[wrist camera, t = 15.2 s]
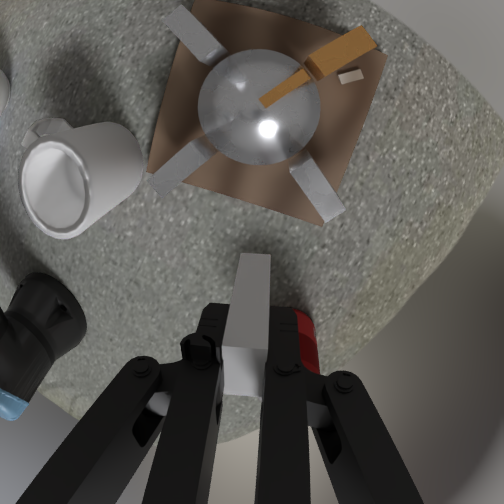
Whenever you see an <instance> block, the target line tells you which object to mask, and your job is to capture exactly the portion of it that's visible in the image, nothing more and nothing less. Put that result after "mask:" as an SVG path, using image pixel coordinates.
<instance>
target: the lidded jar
mask: <svg viewBox="0 0 504 504" xmlns="http://www.w3.org/2000/svg"><path fill="white" fill-rule="evenodd" d="M10 94H11V87H10V82H9V80H8V78H7V77H6V75H5V74H4V72H3V71H2V70H1V69H0V116H1V115H2V113H3V111H4V110H5V109H6V107H7V105H8V103H9V99H10Z"/></svg>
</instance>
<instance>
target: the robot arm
mask: <svg viewBox="0 0 504 504" xmlns="http://www.w3.org/2000/svg"><path fill="white" fill-rule="evenodd" d="M270 265H271V254H255V253H241V254H240V259H239V264H238V269H237V273H236V278H235V283H234V288H233V293H232V298H231V303H230V304H220V303H209V304H208V305H207V306H206V307H205V308H204V309H203V311H202V314H201V318H200V321H199V324H198V327H197V331H196V333H192V334H189V335H187V336H186V337H184V338H183V339H182V341H181V343H180V346H181V352H182V358H183V359H182V360H180V361H177V362H174V363H167V364H159V363H158V362H157V360H155V359H154V358H152V357H148V356H138V357H135V358H133V359H131V360H130V361H128V362H127V363H126V364H125V366H124V367H123V368H122V369H121V370H120V372H119V373H118V374H117V375H116V376H115V378H114V379H113V380H112V381H111V383H110V384H109V385H108V386H107V387H106V389H105V390H104V391H103V392H102V394H101V395H100V396H99V397H98V399H97V400H96V401H95V402H94V403H93V405H92V406H91V407H90V408H89V410H88V411H87V412H86V413H85V415H84V416H83V417H82V418H81V420H80V421H79V422H78V423H77V425H76V426H75V427H74V428H73V430H72V431H71V432H70V433H69V435H68V436H67V437H66V438H65V440H64V441H63V442H62V444H61V445H60V446H59V447H58V449H57V450H56V452H54V454H53V455H52V456H51V458H50V459H49V460H48V461H47V463H46V464H45V465H44V467H43V468H42V469H41V471H40V472H39V473H38V475H37V476H36V477H35V478H34V480H33V481H32V483H31V484H30V485H29V486H28V488H27V489H26V490H25V492H24V493H23V494H22V496H21V497H20V499H19V500H18V501H17V502H16V504H115V503H116V502H117V500H118V499H119V497H120V495H121V494H122V492H123V490H124V489H125V488H126V486H127V484H128V483H129V481H130V479H131V478H132V476H133V475H134V473H135V472H136V470H137V468H138V467H139V465H140V464H141V462H142V461H143V459H144V457H145V456H146V454H147V453H148V451H149V449H150V448H151V446H152V445H153V443H154V441H155V440H156V438H157V437H158V435H159V433H160V432H161V435H160V438H159V442H158V445H157V449H156V452H155V456H154V460H153V464H152V467H151V471H150V474H149V478H148V482H147V486H146V489H145V493H144V497H143V501H142V504H208V497H209V489H210V483H211V477H212V471H213V464H214V458H215V451H216V445H217V439H218V432H219V426H220V419H221V413H222V407H223V404H222V397H223V391H224V394H230V395H241V396H255V397H262V405H261V413H260V434H259V448H258V462H257V476H256V489H255V503H254V504H311V501H310V499H311V498H310V463H309V440H308V426H311V428H312V430H313V433H314V436H315V439H316V441H317V444H318V447H319V450H320V452H321V455H322V458H323V461H324V464H325V467H326V469H327V472H328V475H329V477H330V480H331V483H332V486H333V489H334V491H335V494H336V497H337V500H338V502H339V504H424V503H423V501H422V499H421V497H420V495H419V492H418V490H417V488H416V486H415V484H414V482H413V480H412V478H411V476H410V474H409V472H408V470H407V468H406V466H405V464H404V462H403V460H402V458H401V456H400V454H399V452H398V450H397V448H396V446H395V444H394V442H393V440H392V438H391V436H390V435H389V432H388V430H387V429H386V427H385V425H384V423H383V421H382V419H381V417H380V415H379V413H378V411H377V409H376V407H375V406H374V404H373V402H372V400H371V398H370V396H369V394H368V392H367V391H366V389H365V387H364V385H363V383H362V381H361V380H360V379H359V377H357V376H356V375H355V374H353V373H351V372H348V371H336V372H333V373H331V374H330V375H329V376H328V377H327V376H324V375H320V374H317V373H314V372H312V371H310V370H308V369H307V368H306V367H305V366H304V365H303V363H302V361H301V357H300V344H299V333H298V319H297V314H296V313H295V311H294V310H293V309H292V308H290V307H272V306H269V302H270ZM86 330H87V324H86V319H85V316H84V313H83V311H82V309H81V307H80V305H79V304H78V302H77V301H76V299H75V298H74V297H73V295H72V294H71V293H70V292H69V291H68V290H67V289H66V288H65V287H64V286H63V285H62V284H61V283H59V282H58V281H57V280H55V279H54V278H52V277H50V276H48V275H46V274H43V273H31V274H29V275H28V276H27V277H25V278H24V279H23V280H22V281H21V282H20V284H19V285H18V287H17V290H16V291H15V294H14V296H13V298H12V300H11V302H10V305H9V307H8V309H7V311H6V312H5V313H4V312H3V310H2V309H1V307H0V417H2V418H4V419H6V420H10V421H12V420H13V421H14V420H16V419H17V418H19V416H20V415H21V414H22V412H23V411H24V409H25V408H26V407H27V406H28V405H29V402H30V400H31V398H32V397H33V395H34V393H35V392H36V390H37V388H38V387H39V385H40V384H41V382H42V380H43V379H44V377H45V376H46V374H47V373H48V371H49V370H50V368H51V366H52V365H53V363H54V362H55V361H56V360H57V359H58V358H60V357H61V356H63V355H64V354H66V353H67V352H69V351H70V350H71V349H73V348H75V347H76V346H77V345H78V344H79V343H80V342H81V340H82V339H83V337H84V336H85V334H86ZM161 430H162V431H161Z"/></svg>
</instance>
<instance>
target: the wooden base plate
mask: <svg viewBox="0 0 504 504" xmlns="http://www.w3.org/2000/svg"><path fill="white" fill-rule="evenodd" d="M190 12H191V13H192V14H193V15H194V16H195V17H196V18H197V19H198V20H199V21H200V22H201V23H202V24H203V25H204V26H205V27H206V28H207V29H208V30H209V31H210V32H211V33H212V34H213V35H214V36H215V37H216V39H217V40H218V41H219V42H220V43H221V44H222V45H223V46H224V47H225V48H226V49H227V51H228V52H229V53H230V54H231V55H233V54H236V53H239V52H242V51H246V50H253V49H265V50H272V51H276V52H279V53H282V54H284V55H287V56H289V57H291V58H292V59H294V60H295V61H297V62H298V63H299V64H300V65H301V66H303V67H304V68H305V70H306V71H307V72H308V73H309V74H310V76H311V77H312V79H313V81H314V83H315V85H316V87H317V90H318V93H319V98H320V118H319V122H318V125H317V128H316V130H315V132H314V134H313V136H312V138H311V139H310V141H309V142H308V143H307V144H306V145H305V146H304V147H303V148H302V149H301V150H300V151H299V152H298V153H296V154H295V155H293V156H292V157H290V158H288V159H286V160H284V161H281V162H278V163H274V164H269V165H250V164H245V163H241V162H238V161H235V160H233V159H231V158H229V157H227V156H226V155H224V154H222V153H221V152H220V151H218V152H217V153H216V154H215V155H213V156H212V157H211V158H210V159H209V160H207V161H206V162H205V163H204V164H202V165H201V166H200V167H199V168H198V169H196V170H195V171H194V172H193V173H191V174H190V175H189V176H188V177H187V178H185V179H184V180H183V181H182V182H184V183H187V184H191V185H194V186H197V187H201V188H204V189H207V190H211V191H214V192H217V193H221V194H224V195H227V196H230V197H233V198H237V199H240V200H243V201H246V202H249V203H252V204H256V205H259V206H262V207H265V208H268V209H271V210H274V211H277V212H280V213H283V214H286V215H289V216H292V217H295V218H298V219H301V220H304V221H307V222H310V223H313V224H316V225H318V226H321V227H322V226H323V223H324V220H323V219H322V217H321V216H320V214H319V213H318V211H317V210H316V209H315V207H314V206H313V204H312V203H311V201H310V200H309V199H308V197H307V196H306V194H305V193H304V192H303V190H302V189H301V187H300V186H299V185H298V183H297V182H296V180H295V179H294V178H293V176H292V175H291V174H290V170H289V163H288V160H290V159H291V158H293V157H294V156H296V155H297V154H299V153H300V152H302V151H303V150H305V149H307V151H308V152H309V153H310V155H311V156H312V158H313V159H314V160H315V162H316V163H317V165H318V166H319V168H320V169H321V171H322V172H323V173H324V175H325V176H326V178H327V179H328V181H329V182H330V184H331V185H332V187H333V188H334V190H335V191H336V193H337V190H338V188H339V185H340V183H341V180H342V178H343V176H344V173H345V171H346V168H347V166H348V163H349V161H350V158H351V156H352V153H353V150H354V148H355V145H356V143H357V140H358V137H359V135H360V132H361V130H362V127H363V124H364V122H365V119H366V116H367V114H368V111H369V108H370V105H371V103H372V100H373V97H374V94H375V91H376V89H377V86H378V83H379V80H380V77H381V74H382V71H383V68H384V65H385V63H386V60H387V57H388V55H386V54H384V53H382V52H380V51H377V50H375V49H372V50H370V51H368V52H366V53H364V54H363V55H361V56H359V57H357V58H356V59H354V60H352V61H351V62H349V63H347V64H345V65H344V66H342V67H340V68H339V69H337V70H335V71H334V72H332V73H331V74H329V75H327V76H326V77H324V78H322V79H321V80H319V81H317V80H316V79H315V78H314V77H313V75H312V74H311V73H310V71H309V70H308V69H307V68H306V66H305V65H304V62H305V61H306V59H307V57H308V56H309V55H310V54H312V53H313V52H315V51H317V50H318V49H320V48H322V47H323V46H325V45H327V44H328V43H330V42H332V41H334V40H335V39H337V38H339V37H341V36H342V35H340V34H338V33H335V32H333V31H330V30H327V29H325V28H322V27H319V26H316V25H313V24H310V23H307V22H304V21H301V20H298V19H295V18H291V17H288V16H284V15H281V14H277V13H273V12H270V11H266V10H261V9H257V8H253V7H248V6H244V5H239V4H234V3H228V2H223V1H217V0H195V1H194V3H193V6H192V9H191V11H190ZM231 55H230V56H231ZM212 69H213V67H210V66H208V65H206V64H204V63H202V62H200V61H199V60H198V59H197V58H196V57H195V56H194V54H193V53H192V52H191V51H190V50H189V49H188V48H187V47H186V46H185V45H184V44H183V42H182V41H181V40H180V42H179V45H178V49H177V52H176V55H175V58H174V61H173V65H172V68H171V71H170V75H169V78H168V82H167V85H166V89H165V92H164V96H163V100H162V104H161V108H160V112H159V116H158V120H157V124H156V128H155V133H154V137H153V141H152V146H151V151H150V156H149V161H148V166H147V171H146V172H148V173H152V174H154V173H155V172H156V171H158V170H159V169H160V168H161V167H162V166H163V165H164V164H165V163H166V162H167V161H169V160H170V159H171V158H172V157H173V156H174V155H175V154H177V153H178V152H179V151H180V150H181V149H182V148H183V147H185V146H186V145H187V144H188V143H189V142H190V141H193V140H195V139H197V138H199V137H201V136H203V135H205V133H204V131H203V129H202V126H201V124H200V120H199V115H198V99H199V93H200V90H201V87H202V85H203V83H204V81H205V79H206V77H207V76H208V74H209V73H210V72H211V71H212Z"/></svg>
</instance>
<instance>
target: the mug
mask: <svg viewBox="0 0 504 504" xmlns="http://www.w3.org/2000/svg"><path fill="white" fill-rule="evenodd" d="M43 134H50V135H47V136H43V137H40V135H43ZM21 144H22V145H23V146H24V147H25V149H26V151H25V153H24V155H23V156H22V159H21V163H20V167H19V171H18V187H19V192H20V197H21V201H22V204H23V206H24V208H25V211H26V213H27V215H28V216H29V217H30V219H31V220H32V222H33V223H34V224H35V226H37V227H38V228H39V229H40V230H41V231H43V232H44V233H45V234H47V235H49V236H52V237H54V238H56V239H70V238H72V237H75V236H77V235H79V234H81V233H82V232H83V231H84V230H86V229H87V228H88V227H89V226H91V225H92V224H93V223H94V222H96V221H97V220H98V219H99V218H101V217H102V216H103V215H105V214H106V213H107V212H109V211H110V210H111V209H113V208H114V207H115V206H117V205H118V204H119V203H121V202H122V201H123V200H125V199H126V198H127V197H128V196H129V195H130V194H132V193H133V192H134V191H135V189H136V188H137V186H138V184H139V182H140V180H141V176H142V172H143V155H142V151H141V149H140V146H139V143H138V141H137V139H136V138H135V137H134V136H133V134H132V133H131V132H130V130H128V129H127V128H125V127H124V126H122V125H120V124H118V123H113V122H109V121H108V122H101V123H95V124H91V125H86V126H82V127H78V128H73V127H72V126H71V125H70V124H69V123H68V122H67V121H66V120H65V119H64V118H51V117H48V118H44V119H40V120H36V121H35V122H34V123H33V124H32V125H31V126H30V128H29V129H28V130H27V132H26V134H25V137H24V139H23V141H22V143H21Z"/></svg>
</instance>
